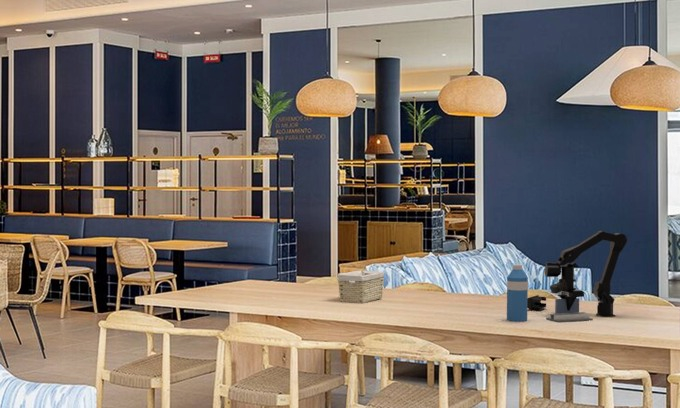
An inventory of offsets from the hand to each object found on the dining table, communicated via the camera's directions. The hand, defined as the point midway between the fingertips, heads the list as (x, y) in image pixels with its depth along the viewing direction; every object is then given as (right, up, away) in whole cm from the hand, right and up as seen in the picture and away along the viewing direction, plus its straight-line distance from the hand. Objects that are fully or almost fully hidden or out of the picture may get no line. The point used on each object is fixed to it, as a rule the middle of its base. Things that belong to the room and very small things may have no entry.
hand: (567, 310), depth 439 cm
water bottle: (-26, -3, -15) cm, 31 cm away
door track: (-2, -3, -14) cm, 14 cm away
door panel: (0, -3, 0) cm, 3 cm away
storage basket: (-95, -1, +53) cm, 109 cm away
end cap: (-11, -2, +20) cm, 22 cm away
